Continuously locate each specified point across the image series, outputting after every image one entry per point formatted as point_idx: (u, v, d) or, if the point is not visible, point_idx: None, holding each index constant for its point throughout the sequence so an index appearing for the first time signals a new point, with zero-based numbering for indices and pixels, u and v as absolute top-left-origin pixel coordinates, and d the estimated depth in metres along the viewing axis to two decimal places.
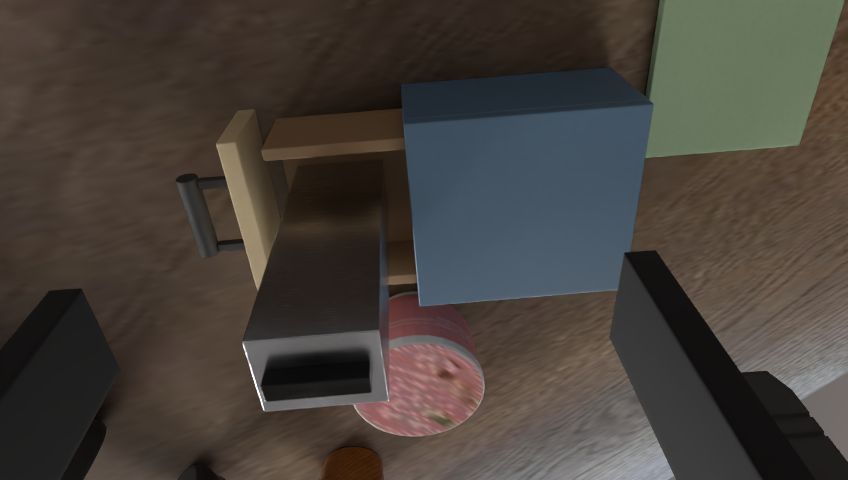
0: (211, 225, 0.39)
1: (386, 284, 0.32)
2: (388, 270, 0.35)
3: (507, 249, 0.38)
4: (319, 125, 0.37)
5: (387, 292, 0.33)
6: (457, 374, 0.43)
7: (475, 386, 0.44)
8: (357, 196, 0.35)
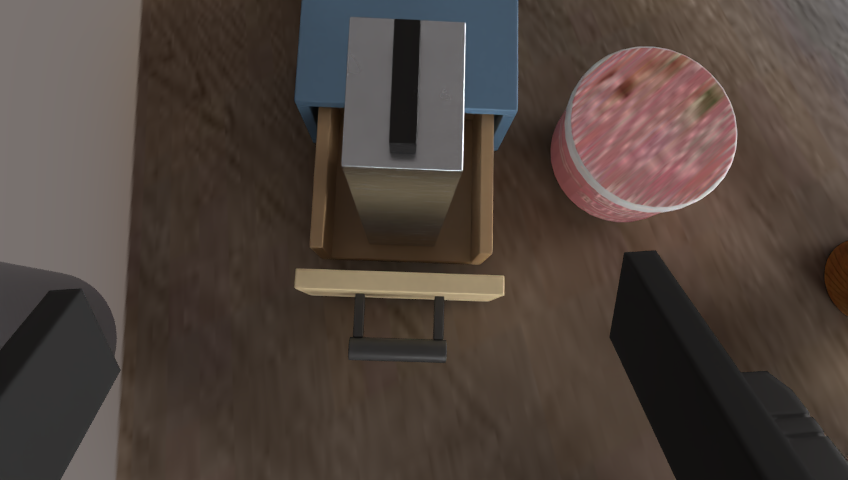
0: None
1: None
2: None
3: (450, 14, 0.35)
4: None
5: None
6: (625, 75, 0.35)
7: (648, 56, 0.35)
8: None
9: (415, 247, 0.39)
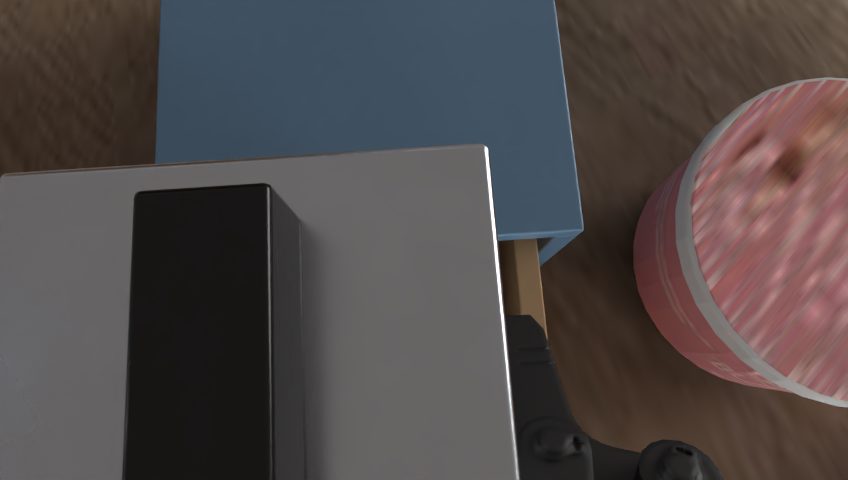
0: None
1: None
2: None
3: (435, 59, 0.19)
4: None
5: None
6: (784, 139, 0.18)
7: (821, 96, 0.18)
8: None
9: None
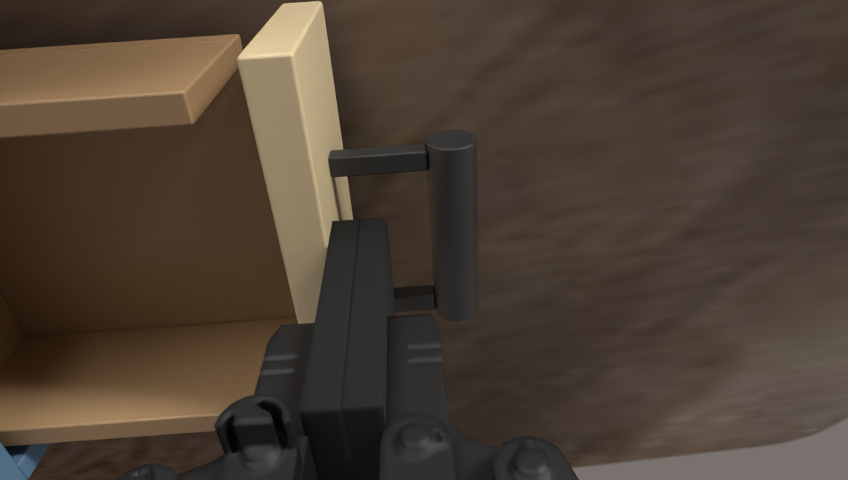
0: (430, 214, 0.17)
1: None
2: None
3: None
4: None
5: None
6: None
7: None
8: None
9: (238, 186, 0.18)
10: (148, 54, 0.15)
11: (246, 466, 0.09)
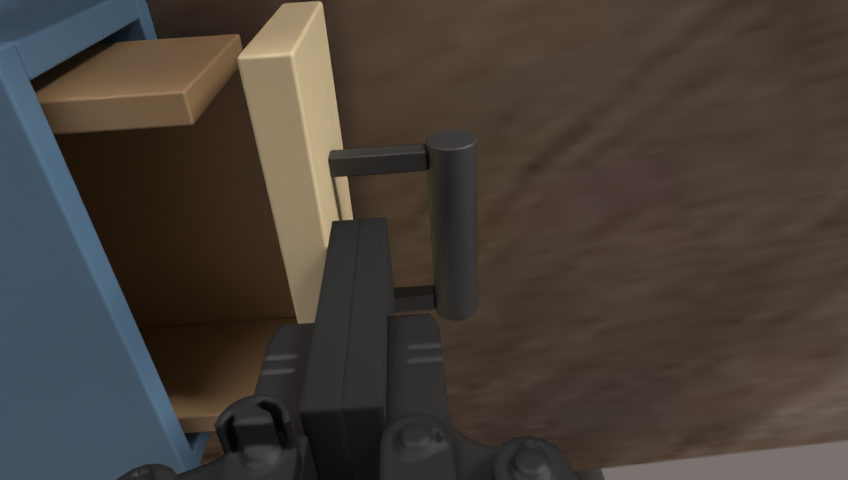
0: (430, 214, 0.17)
1: None
2: None
3: None
4: None
5: None
6: None
7: None
8: None
9: (238, 186, 0.18)
10: (148, 54, 0.15)
11: (246, 466, 0.09)
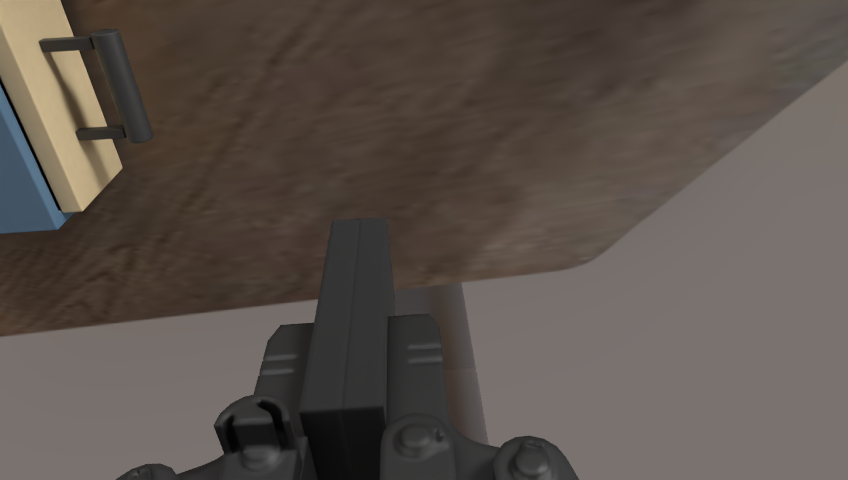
0: None
1: None
2: None
3: None
4: None
5: None
6: None
7: None
8: None
9: None
10: None
11: (245, 465, 0.09)
